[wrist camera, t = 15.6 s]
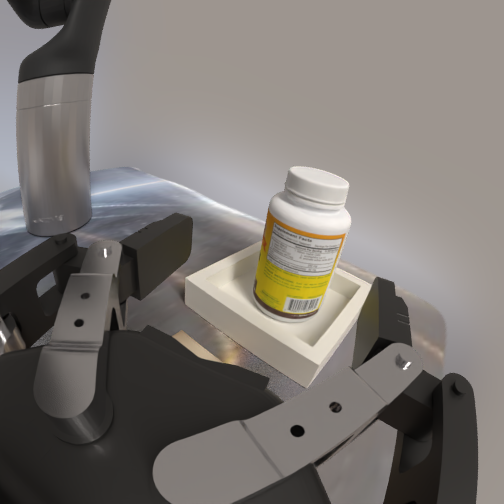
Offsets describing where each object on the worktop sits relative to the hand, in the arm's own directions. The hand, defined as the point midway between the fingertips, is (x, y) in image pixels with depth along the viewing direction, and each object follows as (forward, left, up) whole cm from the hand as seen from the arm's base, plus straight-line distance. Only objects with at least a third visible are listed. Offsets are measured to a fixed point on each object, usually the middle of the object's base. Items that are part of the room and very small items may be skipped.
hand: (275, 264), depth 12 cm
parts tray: (-6, +5, -9) cm, 12 cm away
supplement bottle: (-6, +5, -8) cm, 12 cm away
